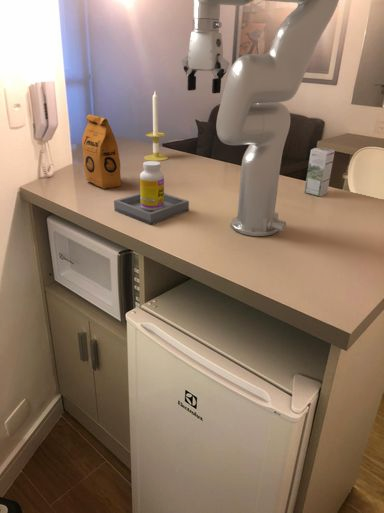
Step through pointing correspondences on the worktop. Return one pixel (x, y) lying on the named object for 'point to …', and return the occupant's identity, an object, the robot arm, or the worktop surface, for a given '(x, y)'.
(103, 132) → the coffee package
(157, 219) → the tray
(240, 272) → the worktop surface
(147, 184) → the supplement bottle
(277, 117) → the robot arm
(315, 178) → the syrup box
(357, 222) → the worktop surface
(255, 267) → the worktop surface
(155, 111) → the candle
